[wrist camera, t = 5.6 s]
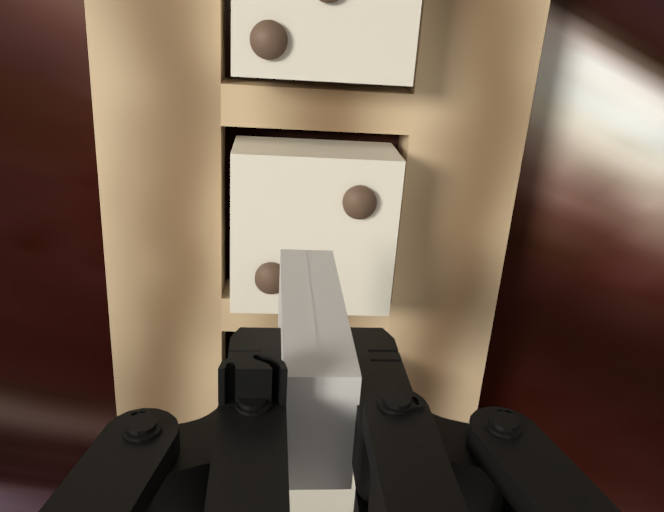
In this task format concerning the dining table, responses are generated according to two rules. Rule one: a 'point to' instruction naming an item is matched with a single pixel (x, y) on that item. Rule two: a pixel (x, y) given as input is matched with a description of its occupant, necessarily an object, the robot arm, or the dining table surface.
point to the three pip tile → (326, 40)
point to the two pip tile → (314, 216)
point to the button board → (318, 115)
